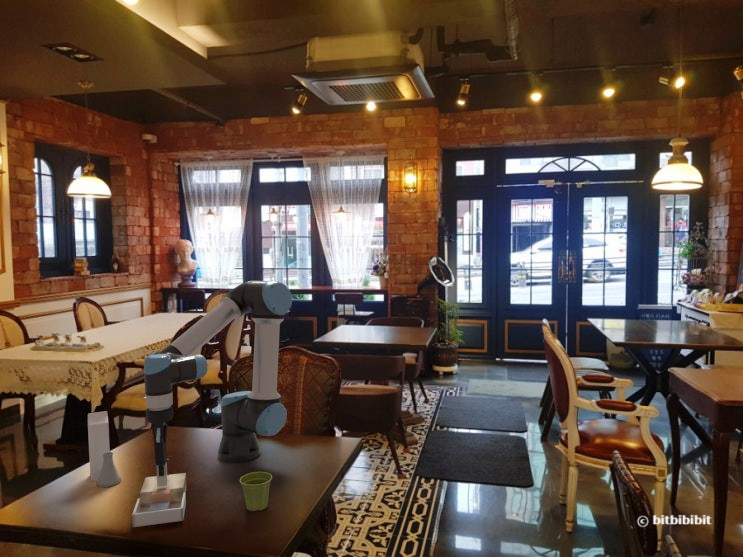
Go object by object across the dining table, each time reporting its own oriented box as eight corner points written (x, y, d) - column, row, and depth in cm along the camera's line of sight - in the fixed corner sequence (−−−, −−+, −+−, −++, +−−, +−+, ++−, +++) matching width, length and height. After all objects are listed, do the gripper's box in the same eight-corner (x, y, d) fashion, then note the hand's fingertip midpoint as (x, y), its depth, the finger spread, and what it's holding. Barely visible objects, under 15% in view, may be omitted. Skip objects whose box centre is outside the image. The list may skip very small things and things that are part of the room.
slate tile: (167, 509, 155) (167, 519, 155) (169, 501, 160) (169, 511, 160) (148, 511, 154) (148, 522, 154) (150, 503, 159) (151, 513, 159)
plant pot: (257, 517, 157) (256, 487, 156) (233, 509, 162) (232, 480, 161) (279, 504, 165) (278, 475, 164) (256, 497, 170) (255, 469, 169)
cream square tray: (186, 488, 177) (185, 472, 177) (183, 503, 166) (183, 487, 166) (146, 493, 174) (145, 477, 174) (140, 509, 163) (140, 492, 163)
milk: (110, 477, 187) (108, 413, 186) (90, 481, 184) (88, 416, 183) (109, 471, 193) (107, 408, 191) (89, 475, 190) (87, 411, 188)
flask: (111, 488, 178) (110, 458, 178) (91, 487, 180) (90, 456, 179) (125, 479, 186) (124, 450, 185) (106, 478, 187) (105, 448, 186)
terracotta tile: (170, 488, 164) (169, 493, 161) (171, 505, 164) (170, 509, 161) (152, 490, 163) (151, 495, 160) (153, 507, 163) (151, 512, 160)
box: (185, 503, 166) (185, 492, 166) (183, 520, 156) (182, 508, 156) (138, 509, 163) (138, 498, 163) (132, 527, 153) (132, 514, 152)
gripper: (148, 402, 170) (151, 478, 171) (142, 414, 158) (145, 495, 159) (174, 400, 172) (177, 475, 173) (170, 411, 159) (173, 492, 161)
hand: (162, 485), depth 166 cm, fingers closed
